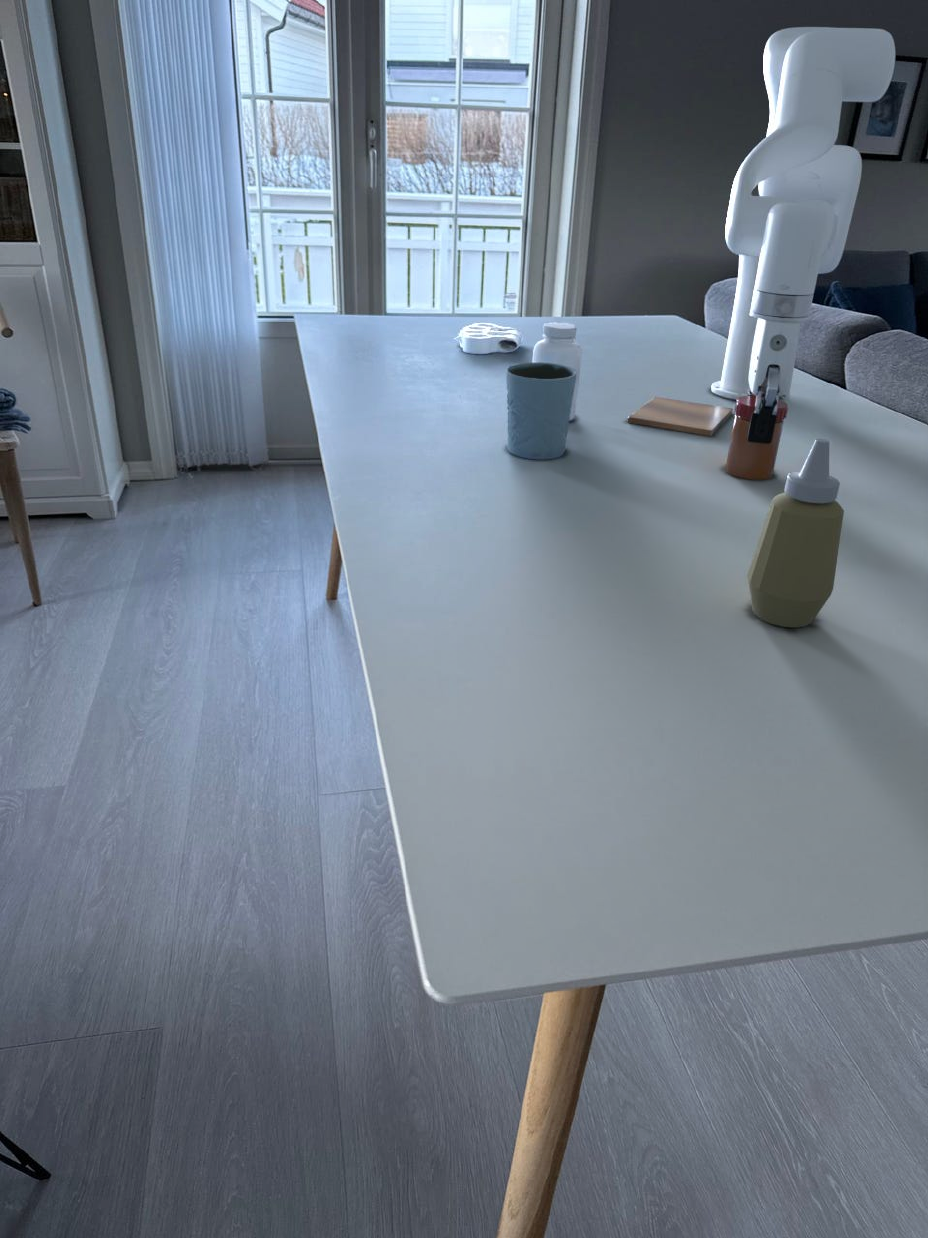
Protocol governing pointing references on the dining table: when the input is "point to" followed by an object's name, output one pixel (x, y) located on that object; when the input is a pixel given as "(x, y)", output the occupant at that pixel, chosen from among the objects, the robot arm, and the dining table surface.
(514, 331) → the white flat molded block
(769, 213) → the robot arm
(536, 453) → the blue embossed cup
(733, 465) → the jam jar
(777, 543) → the squeeze bottle
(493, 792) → the dining table surface
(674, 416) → the wooden board
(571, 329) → the pill bottle
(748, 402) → the jam lid
